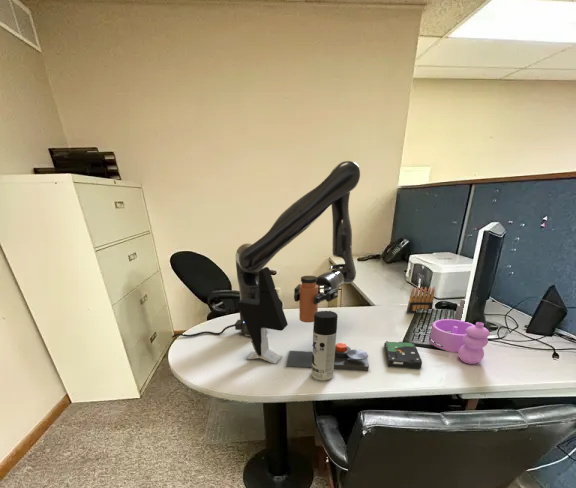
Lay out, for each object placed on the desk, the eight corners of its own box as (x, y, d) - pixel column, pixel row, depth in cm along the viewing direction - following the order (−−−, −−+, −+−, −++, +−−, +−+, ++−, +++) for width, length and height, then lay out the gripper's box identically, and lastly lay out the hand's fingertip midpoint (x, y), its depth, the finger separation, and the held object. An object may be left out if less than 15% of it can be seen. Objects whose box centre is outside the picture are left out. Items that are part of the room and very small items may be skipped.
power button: (335, 352, 107) (335, 347, 107) (335, 347, 111) (335, 342, 110) (346, 352, 107) (347, 347, 106) (346, 347, 110) (346, 343, 109)
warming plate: (346, 359, 102) (346, 358, 102) (345, 350, 108) (346, 349, 108) (368, 360, 101) (368, 359, 101) (366, 351, 107) (366, 349, 107)
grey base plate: (323, 369, 104) (323, 359, 102) (324, 353, 114) (324, 344, 112) (368, 371, 103) (369, 361, 101) (364, 355, 112) (366, 345, 111)
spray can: (310, 370, 103) (311, 310, 93) (331, 369, 104) (335, 309, 94) (313, 381, 97) (315, 318, 88) (335, 380, 98) (340, 317, 88)
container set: (423, 334, 127) (430, 301, 120) (462, 334, 127) (472, 301, 120) (450, 366, 105) (460, 328, 99) (498, 366, 105) (511, 328, 98)
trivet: (286, 367, 105) (286, 365, 105) (290, 351, 115) (290, 350, 115) (320, 368, 104) (320, 367, 104) (321, 353, 114) (321, 352, 113)
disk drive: (421, 369, 103) (412, 348, 116) (423, 362, 102) (414, 341, 115) (387, 367, 105) (383, 347, 117) (389, 360, 103) (384, 340, 116)
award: (288, 357, 111) (287, 268, 96) (283, 365, 107) (281, 272, 92) (247, 351, 115) (241, 264, 100) (241, 358, 111) (233, 268, 96)
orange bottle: (298, 322, 100) (298, 280, 94) (300, 315, 105) (300, 275, 98) (316, 322, 100) (318, 280, 93) (317, 316, 104) (318, 275, 98)
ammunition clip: (429, 311, 149) (435, 285, 143) (431, 313, 147) (437, 287, 142) (406, 311, 149) (411, 285, 143) (407, 313, 148) (412, 287, 142)
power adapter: (468, 323, 136) (476, 295, 131) (455, 322, 137) (462, 295, 131) (466, 320, 139) (474, 293, 133) (453, 320, 140) (460, 292, 134)
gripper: (306, 271, 111) (283, 284, 98) (347, 275, 105) (328, 290, 92) (306, 293, 114) (284, 308, 101) (345, 298, 109) (327, 315, 96)
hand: (305, 299), depth 97 cm, fingers closed on orange bottle, 5 cm apart
